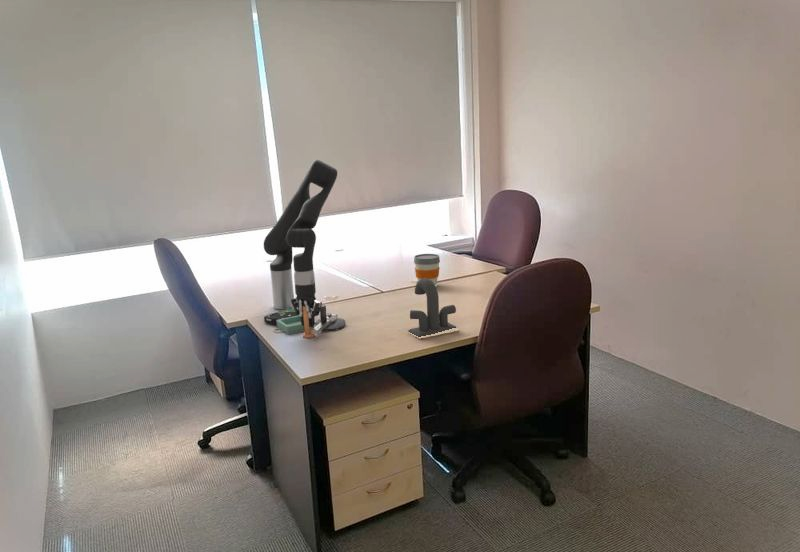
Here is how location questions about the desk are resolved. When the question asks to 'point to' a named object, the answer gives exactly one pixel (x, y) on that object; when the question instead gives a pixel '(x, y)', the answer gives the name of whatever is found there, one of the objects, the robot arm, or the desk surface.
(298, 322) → the tray
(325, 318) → the crank
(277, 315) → the disk drive
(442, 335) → the desk surface
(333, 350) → the desk surface
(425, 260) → the reusable coffee cup
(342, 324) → the crank base
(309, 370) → the desk surface
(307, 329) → the stop peg
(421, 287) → the faucet
